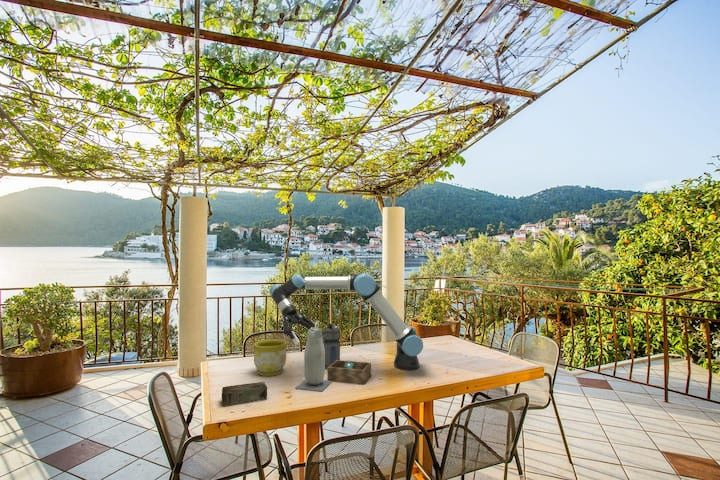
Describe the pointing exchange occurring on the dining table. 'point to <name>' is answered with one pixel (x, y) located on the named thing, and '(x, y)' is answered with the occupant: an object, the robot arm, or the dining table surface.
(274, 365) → the flowerpot
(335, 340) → the beverage bottle
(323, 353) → the grey vase
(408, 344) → the robot arm
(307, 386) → the grey mat
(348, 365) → the teal tin
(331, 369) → the walnut crate
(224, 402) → the beverage carton
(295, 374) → the dining table surface
